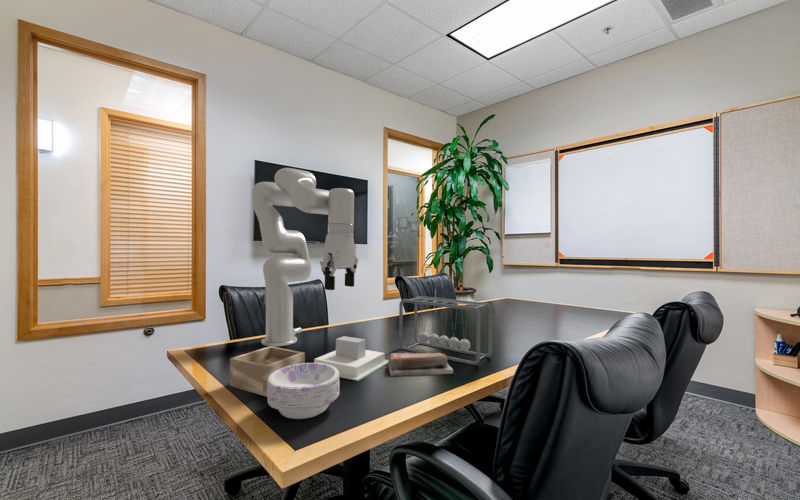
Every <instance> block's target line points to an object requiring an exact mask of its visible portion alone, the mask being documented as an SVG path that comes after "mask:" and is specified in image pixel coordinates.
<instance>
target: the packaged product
mask: <svg viewBox="0 0 800 500" xmlns="http://www.w3.org/2000/svg"><path fill="white" fill-rule="evenodd" d="M446 356H447V355H446V354H445V353H441V352H431V353H415V352H401V353H400V352H398V353H397V352H395V353H394V352H393V353H390V355H389V357H388V359H387V360H388V364H387V367H388V370H389V374H390V376H391V377H395V376H399V377H400V376H431V375H451V374H454V369H453V368H452V366H450V364H449V363H448V360H447V358H446Z"/></svg>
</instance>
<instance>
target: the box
mask: <svg viewBox="0 0 800 500" xmlns="http://www.w3.org/2000/svg"><path fill="white" fill-rule="evenodd" d="M301 363H306V352H304V351H297V350H293V349H287V348H282V347H279V346H276V347H273V346H265V347H262V348H260V349H256V350H253V351H250V352H248V353H244V354H240V355H238V356H234V357H231V358H230V359H229V367H230V368H229V386H230V387H233V388H236V389H239V390H242V391H246V392H249V393H252V394H257V395H259V396H263V397H267V393H268V392H267V382H268V381H267V379H268V377H269V376H270V375H271V374H272V373H273V372H274V371H276V370H278V369H280V368H283V367H286V366H290V365H294V364H301Z"/></svg>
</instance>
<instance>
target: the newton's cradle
mask: <svg viewBox="0 0 800 500" xmlns="http://www.w3.org/2000/svg"><path fill="white" fill-rule="evenodd" d="M404 303H410V304H414V305H413V306H414V308H413V313H414V314H413V317H414V318H413V320H414V321H413V329H414V330H413V338H414V341H415V343H414V344H412V345H409V346H404V344H403V321H404V320H403V314H404V313H403V312H404V311H403V309H404V308H403V305H404ZM450 303H451V304H450ZM398 305H399V310H398V313H399V315H398V317H399V320H398V324H399V325H398V327H399V328H398V329H399V330H398V335H399V336H398V340H399V341H398V345H399V347H400V348H401V349H402V350H403V351H406V350H407V351H406V352H410V353H415V352H416V353H432V352H430V351H427V350H422V349H417V348H411V347H414V346H417V345H421V346H425V347H430V346H431V347H432V348H435V349H441V350H446V351H451V352H456V353H461V354H465V355H469V356H470V355H471V356H475V357H476V358H475V360H474V361H473V360H469V359H465V358H464V359H463V358H458V357H454V356H449V355H445V356H446V358H447V361H448V360H449V361H452V362H457V363H460V364H461V363H462V364H465V365H471V366H477V365H478V364H479V363H480V360H482V359H483V358H489V357H490V356H492V353H493V308H492V306H491V305H490V304H489V303H487V302H481V301H470V300H461V299H452V298H443V297H433V296H425V295H424V296H423V295H418V296H416V297H413V298H409V299H408V298H403V299H401V300H400V302H399V304H398ZM418 305H425V306H427V307H426V309H428V307H429V306H430V307H432V306H433V307H440V309H442V308H447V309H446V311H445V312H446V313H445V316H447V313H448V308H449V309H456V310H458V309H459V310H461V312H463V310H466V315H468V313H469V311H473V312H474V313H475V314H476V329H475V330H476V334H475V335H476V338H475V339H476V340H475V341H476V343H475V345H476V347H475V349H476V350H475V351H472V350H470V349H471V342H470V341H469V340H468V339H466V338H462V339H461V340H459V338H457V337H455V336H456V333H453V334H452V337H450V338H449V337H448V336H447V335H445V333H446V329H444V328H443V327H444V326H446V323H447V319H445V322H444V326H443V324H441V329H442V331H443V334H442V335H441V336H439V335H438V334H436V330H433V332H432V334H430V335H429V334H428V333H427V332H426V331H425V328H426V326H424V324H426V323H427V319H424V320H425V321H424V323H423V320H421V325H422V328H423V330H422V331H421V332H419V334H418ZM481 307H486V308H487V310H488V335H487V336H488V345H487V346H488V347H487V350H488V351H487V353H481V312H480V310H479V309H478V308H481ZM420 310H421V311H420V312H421V315H423V311H422V306H420ZM427 313H428V311H426V314H425V317H427V316H428V315H427ZM437 313H438V310H436V314H435V316H437ZM430 314H431V315H430V316H431V318H433V313H432V311H430ZM452 314H453V313H452V311H450V315H451V317H450V318H453V317H452ZM457 314H458V312H456V314H455V319H457V316H458V315H457ZM440 315H441V316H440V317H441V320H443V316H442V313H440ZM463 319H464V317H463V316H461V320H462V321H461V322H462V324H464V321H463ZM465 320H466V321H465V322H466V323H465V326H467V323H468V319H465ZM436 323H437V320H435V322H434V324H433V321H431V325H432V328H434V326H436ZM456 325H457V322H455V326H454V325H453V323H451V327H452V328H451V329H452V330H454V329H456ZM462 334H463V336H464V337H466V334H467V330H465V331H464V328H462Z"/></svg>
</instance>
